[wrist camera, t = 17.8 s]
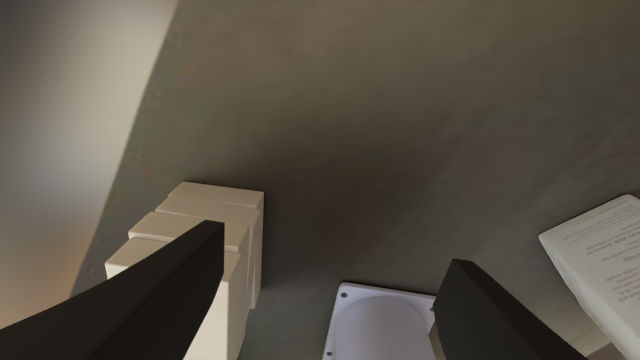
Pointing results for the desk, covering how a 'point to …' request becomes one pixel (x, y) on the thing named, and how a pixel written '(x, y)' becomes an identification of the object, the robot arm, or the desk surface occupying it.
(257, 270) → the white book
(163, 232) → the white book
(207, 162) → the desk surface
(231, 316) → the white book
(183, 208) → the white book
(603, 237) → the cosmetic box
